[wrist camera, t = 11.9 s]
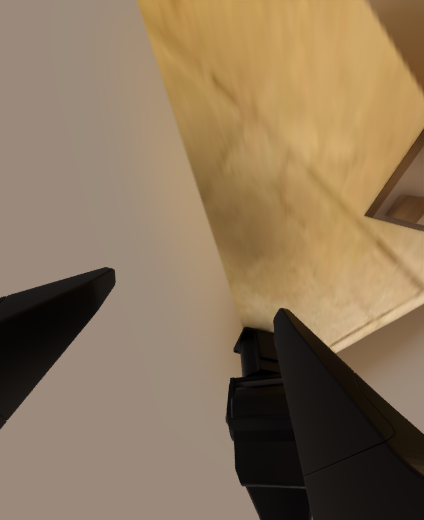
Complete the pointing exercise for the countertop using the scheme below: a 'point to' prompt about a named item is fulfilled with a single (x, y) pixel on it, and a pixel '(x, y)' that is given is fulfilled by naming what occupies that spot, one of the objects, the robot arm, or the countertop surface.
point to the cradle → (404, 192)
